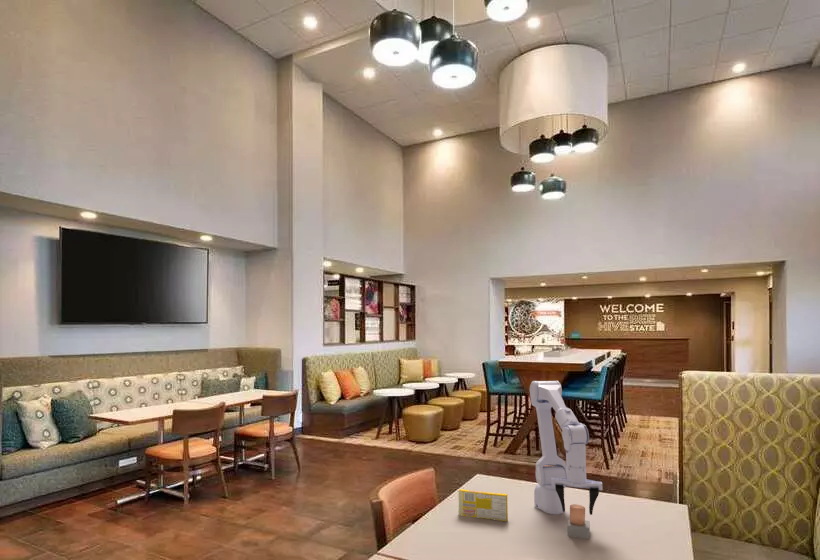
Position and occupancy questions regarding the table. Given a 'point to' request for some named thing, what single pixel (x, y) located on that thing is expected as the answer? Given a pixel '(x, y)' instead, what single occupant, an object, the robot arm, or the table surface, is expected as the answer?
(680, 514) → the table surface
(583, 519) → the clay cylinder
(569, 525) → the tower block
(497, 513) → the candy box
